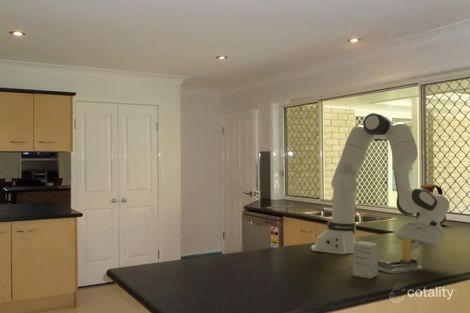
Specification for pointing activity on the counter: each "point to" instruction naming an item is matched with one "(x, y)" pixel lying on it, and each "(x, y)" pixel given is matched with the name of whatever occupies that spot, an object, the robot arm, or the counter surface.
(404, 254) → the orange upright block
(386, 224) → the counter surface
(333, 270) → the counter surface
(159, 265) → the counter surface
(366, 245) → the supplement box
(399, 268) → the console
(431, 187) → the ceramic pitcher
